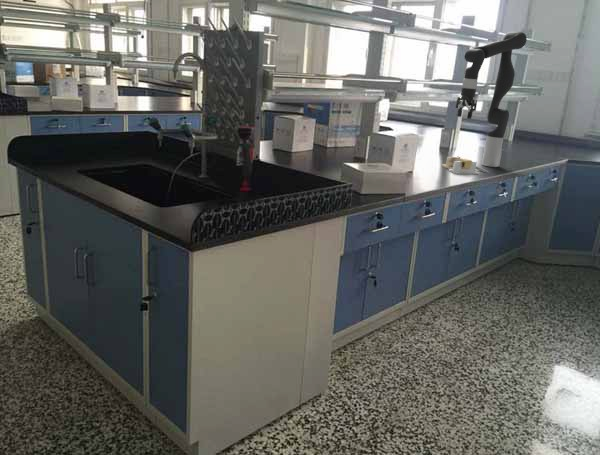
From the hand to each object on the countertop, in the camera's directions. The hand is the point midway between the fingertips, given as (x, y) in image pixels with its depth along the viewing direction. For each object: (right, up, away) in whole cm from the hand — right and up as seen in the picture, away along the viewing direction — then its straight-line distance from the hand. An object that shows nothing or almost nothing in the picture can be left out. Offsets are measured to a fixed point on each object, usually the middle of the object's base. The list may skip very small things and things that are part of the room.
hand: (464, 117), depth 291 cm
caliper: (+6, -29, +6) cm, 30 cm away
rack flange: (-2, -31, -5) cm, 32 cm away
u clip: (-2, -28, -6) cm, 29 cm away
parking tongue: (-5, -27, +6) cm, 28 cm away
